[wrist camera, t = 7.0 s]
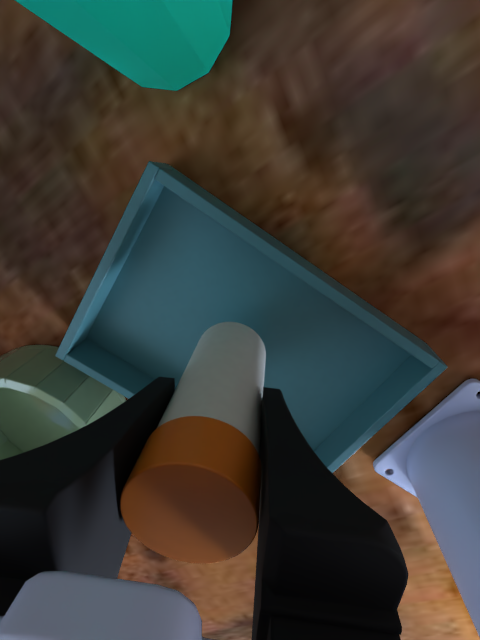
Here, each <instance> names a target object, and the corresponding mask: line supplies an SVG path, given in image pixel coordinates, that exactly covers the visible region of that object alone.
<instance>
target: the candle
mask: <svg viewBox="0 0 480 640" xmlns="http://www.w3.org/2000/svg"><path fill="white" fill-rule="evenodd" d="M15 1H16V2H18V3H19V4H21V5H22V6H24V7H25V8H27V9H28V10H30V11H31V12H33V13H34V14H36V15H37V16H39V17H40V18H41V19H43V20H44V21H46V22H47V23H49V24H50V25H52V26H53V27H55V28H56V29H58V30H59V31H61V32H62V33H63V34H65V35H66V36H68V37H69V38H71V39H72V40H74V41H75V42H77V43H78V44H80V45H81V46H83V47H84V48H86V49H87V50H88V51H90V52H91V53H93V54H94V55H96V56H97V57H99V58H100V59H102V60H103V61H105V62H106V63H108V64H109V65H110V66H112V67H113V68H115V69H116V70H118V71H119V72H121V73H122V74H124V75H125V76H127V77H128V78H130V79H131V80H133V81H134V82H135V83H137V84H138V85H140V86H141V87H146V88H156V89H165V90H174V91H177V90H179V89H181V88H183V87H185V86H186V85H188V84H190V83H192V82H193V81H195V80H197V79H199V78H200V77H202V76H204V75H206V74H207V73H209V71H210V69H211V68H212V66H213V64H214V62H215V61H216V59H217V57H218V55H219V54H220V52H221V50H222V48H223V47H224V45H225V43H226V41H227V39H228V38H229V36H230V27H231V14H232V2H233V0H15Z"/></svg>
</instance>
